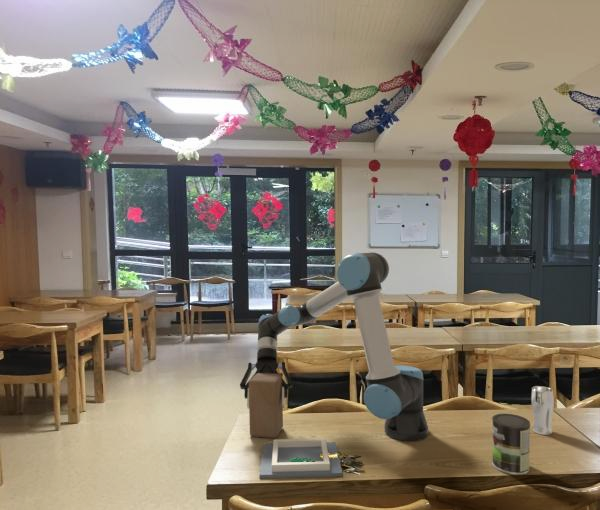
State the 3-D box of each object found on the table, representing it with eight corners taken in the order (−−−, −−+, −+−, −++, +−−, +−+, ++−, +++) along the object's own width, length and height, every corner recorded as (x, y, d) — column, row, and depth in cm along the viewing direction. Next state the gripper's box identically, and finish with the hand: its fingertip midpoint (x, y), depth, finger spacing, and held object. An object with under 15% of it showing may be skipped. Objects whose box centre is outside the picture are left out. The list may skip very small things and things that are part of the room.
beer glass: (532, 433, 160) (532, 391, 159) (530, 426, 166) (530, 385, 166) (554, 436, 157) (555, 393, 157) (552, 428, 164) (552, 387, 163)
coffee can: (503, 476, 132) (503, 427, 132) (485, 459, 143) (485, 414, 142) (537, 474, 133) (537, 426, 133) (517, 457, 144) (517, 412, 143)
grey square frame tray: (335, 444, 154) (335, 436, 154) (342, 476, 134) (342, 465, 134) (263, 446, 153) (263, 437, 153) (259, 478, 133) (259, 468, 133)
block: (276, 439, 159) (275, 381, 158) (249, 437, 161) (247, 380, 160) (283, 427, 169) (282, 373, 168) (257, 425, 171) (256, 372, 170)
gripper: (298, 356, 179) (299, 410, 165) (236, 357, 179) (232, 411, 164) (298, 346, 174) (299, 400, 159) (234, 347, 173) (230, 402, 159)
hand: (265, 406), depth 162 cm, fingers closed on block, 11 cm apart
